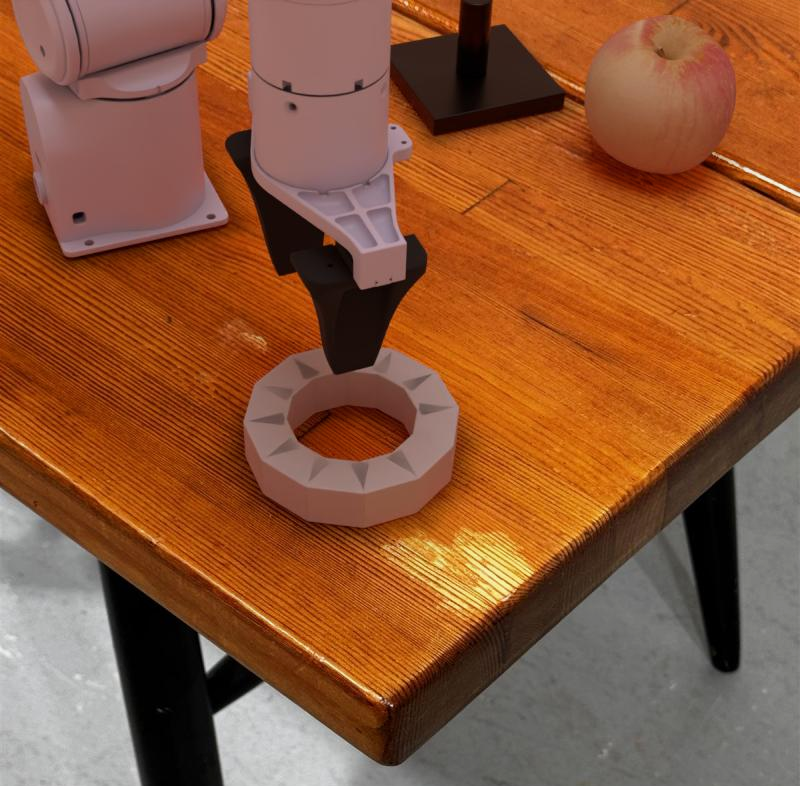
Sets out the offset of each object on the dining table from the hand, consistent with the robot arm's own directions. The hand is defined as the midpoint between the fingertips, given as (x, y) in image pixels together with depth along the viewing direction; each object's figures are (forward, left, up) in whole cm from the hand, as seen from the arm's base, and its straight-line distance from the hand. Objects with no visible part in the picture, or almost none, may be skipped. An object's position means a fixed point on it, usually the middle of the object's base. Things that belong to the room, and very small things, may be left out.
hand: (323, 315), depth 69 cm
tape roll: (0, -4, -5) cm, 7 cm away
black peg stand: (+19, +24, -5) cm, 31 cm away
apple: (+26, +13, -6) cm, 30 cm away
